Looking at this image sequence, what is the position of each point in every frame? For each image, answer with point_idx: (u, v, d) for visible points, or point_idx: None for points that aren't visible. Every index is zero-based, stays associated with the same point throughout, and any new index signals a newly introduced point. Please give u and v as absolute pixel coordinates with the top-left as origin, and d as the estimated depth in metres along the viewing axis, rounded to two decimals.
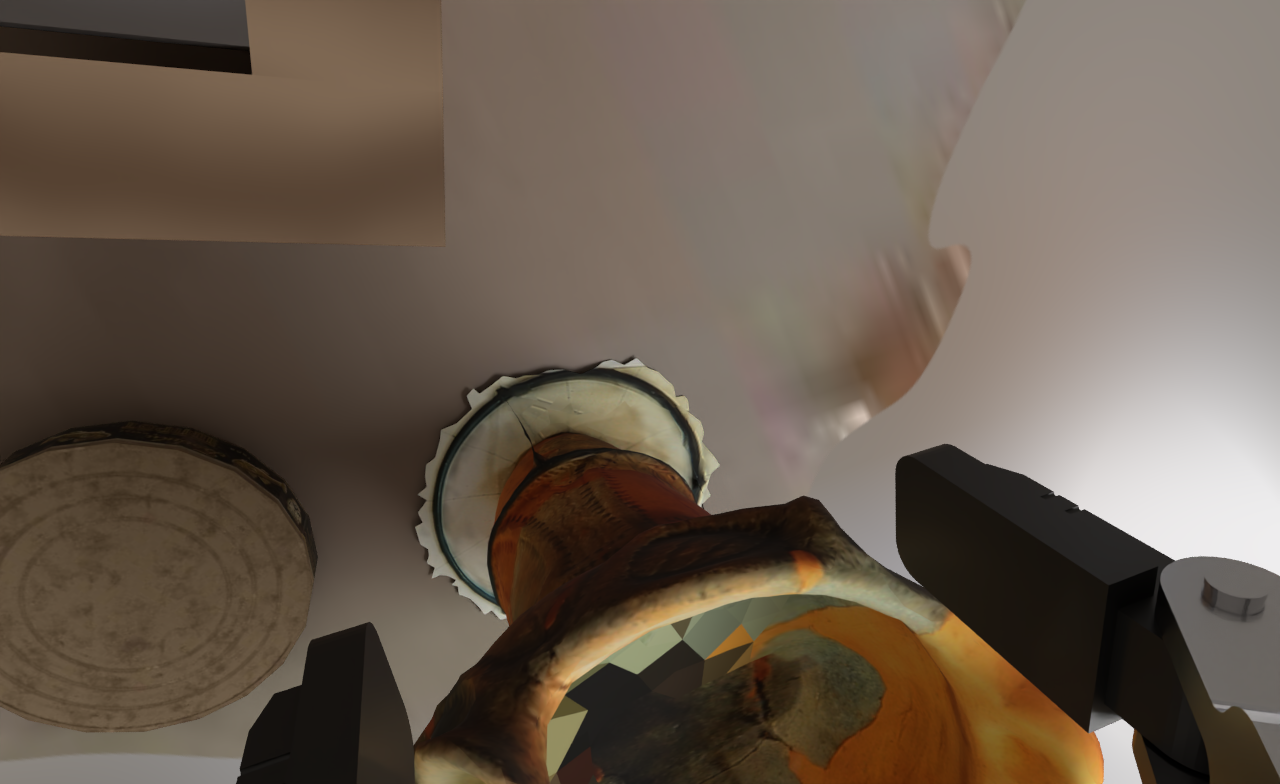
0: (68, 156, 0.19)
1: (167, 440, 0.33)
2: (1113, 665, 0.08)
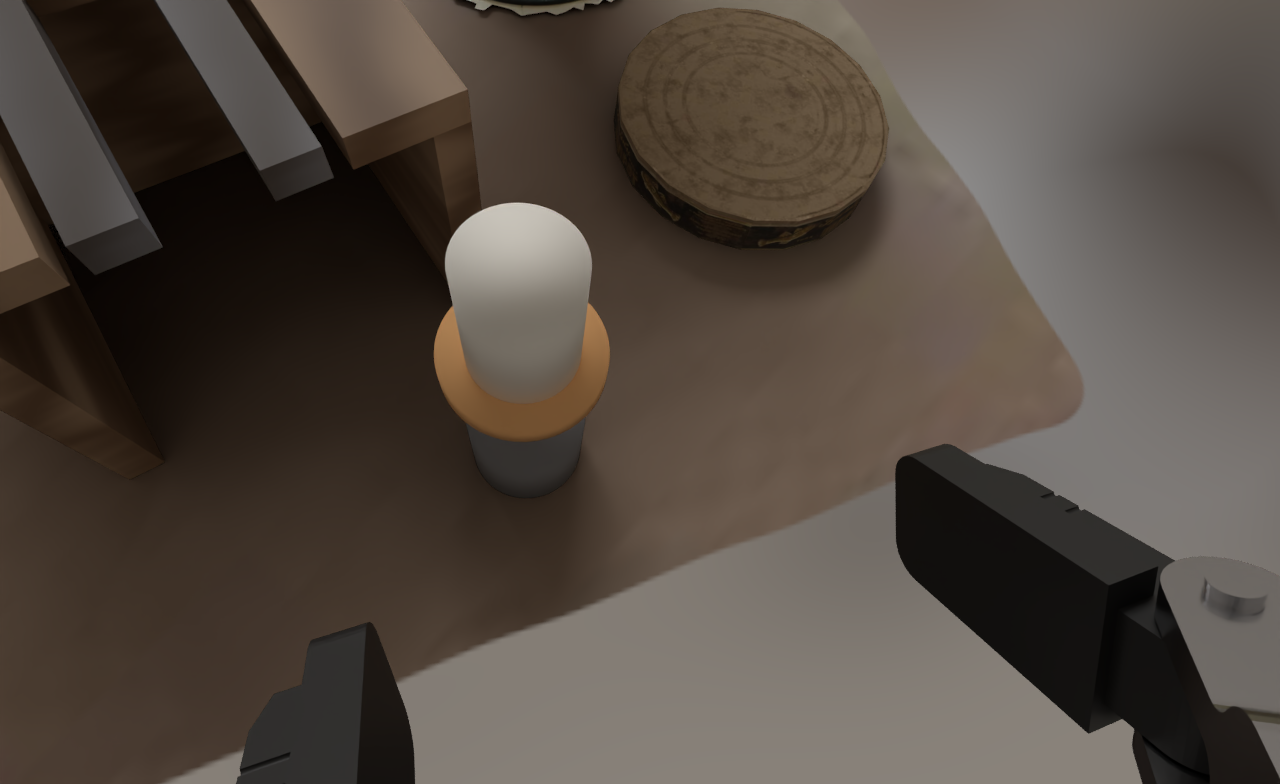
0: None
1: (624, 140, 0.40)
2: (1113, 665, 0.08)
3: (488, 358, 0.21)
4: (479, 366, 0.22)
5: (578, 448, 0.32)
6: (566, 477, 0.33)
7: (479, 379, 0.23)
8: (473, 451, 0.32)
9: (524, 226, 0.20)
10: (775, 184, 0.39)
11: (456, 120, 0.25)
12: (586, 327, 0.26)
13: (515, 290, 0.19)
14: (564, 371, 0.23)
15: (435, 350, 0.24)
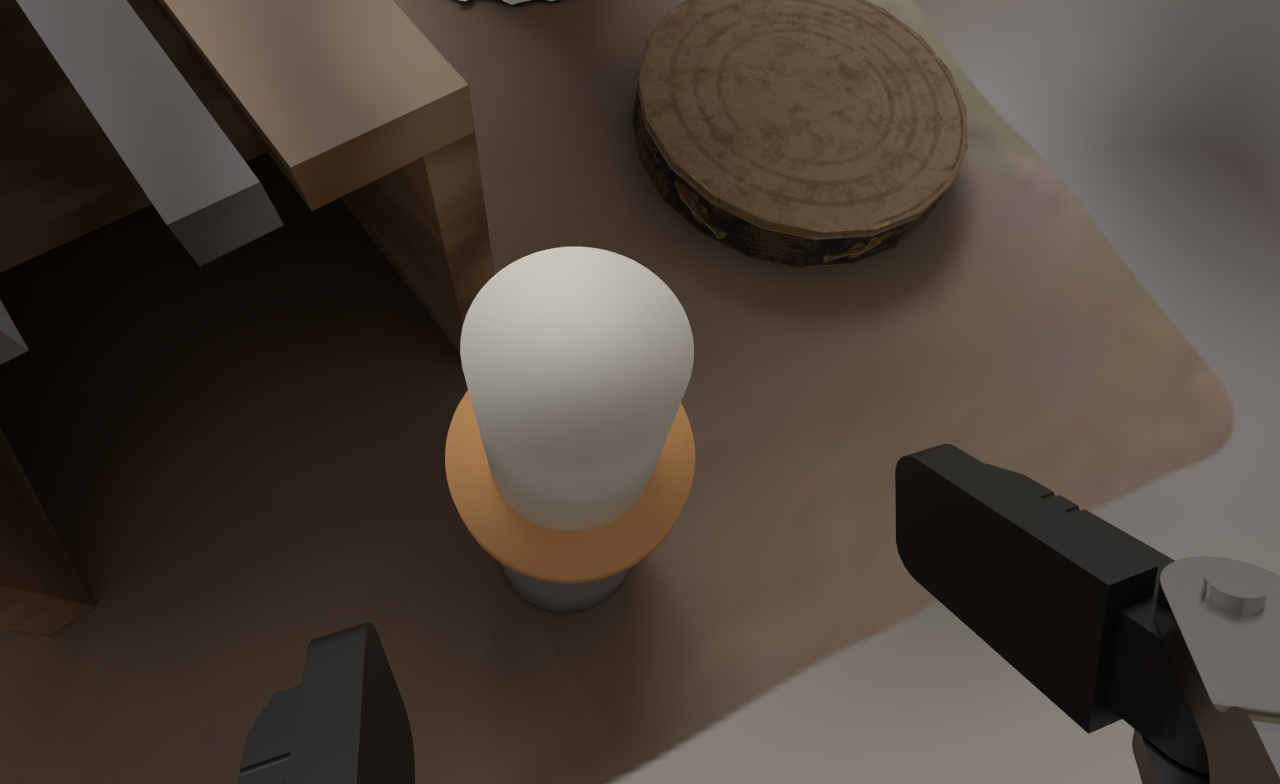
0: None
1: (650, 144, 0.33)
2: (1113, 665, 0.08)
3: (533, 488, 0.14)
4: (518, 493, 0.15)
5: None
6: (621, 582, 0.26)
7: (516, 505, 0.16)
8: None
9: (580, 284, 0.13)
10: (841, 186, 0.32)
11: (454, 131, 0.18)
12: None
13: (578, 392, 0.12)
14: (642, 485, 0.16)
15: (447, 461, 0.17)
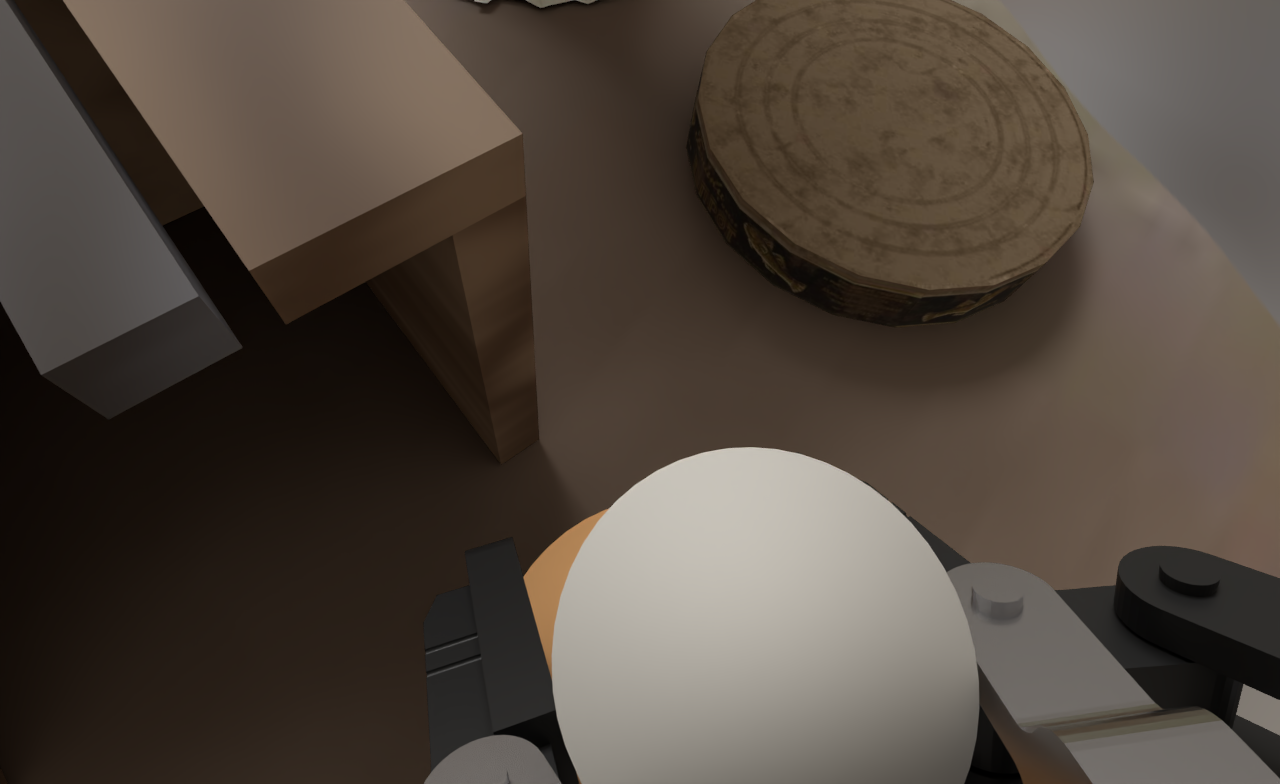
0: None
1: (713, 178, 0.27)
2: None
3: None
4: None
5: None
6: None
7: None
8: None
9: (759, 525, 0.07)
10: (948, 231, 0.26)
11: (497, 198, 0.12)
12: None
13: (779, 764, 0.06)
14: None
15: None
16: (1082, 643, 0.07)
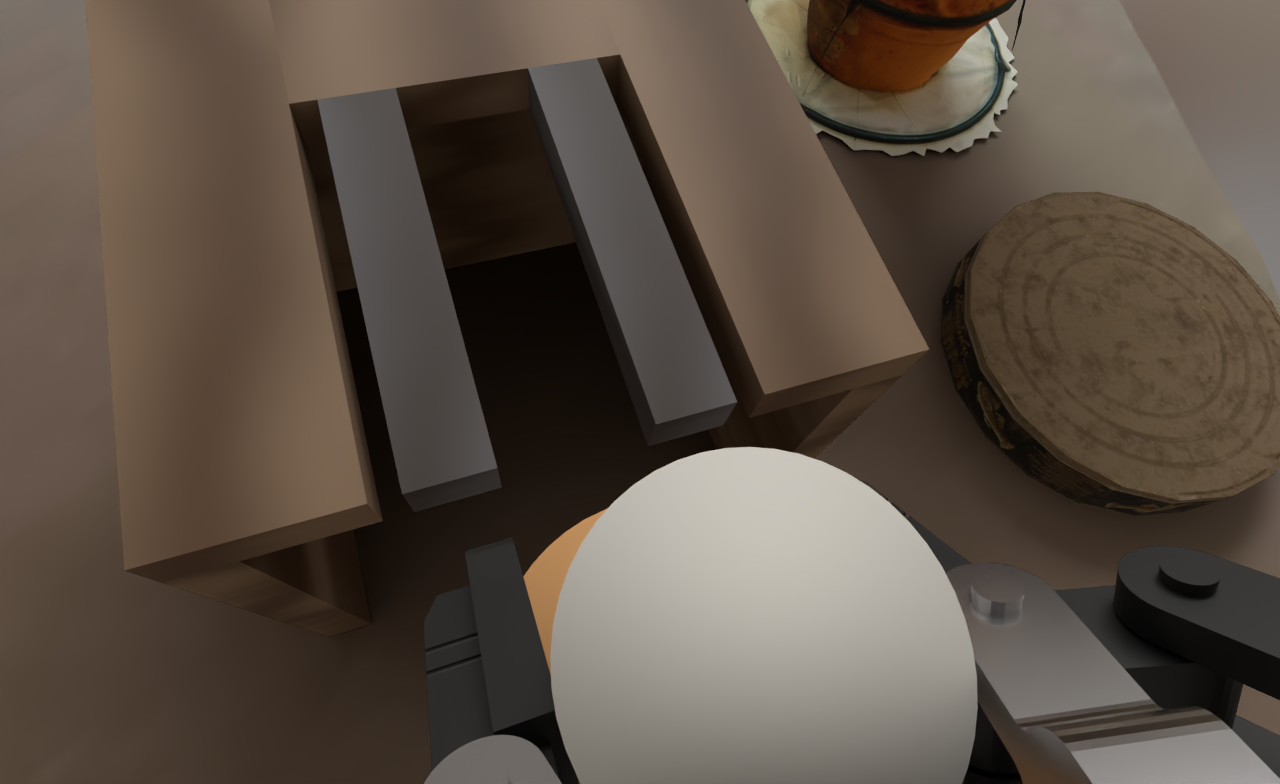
0: (754, 161, 0.20)
1: (963, 336, 0.33)
2: None
3: None
4: None
5: None
6: None
7: None
8: None
9: (757, 525, 0.07)
10: (1153, 442, 0.31)
11: (889, 374, 0.19)
12: None
13: (776, 762, 0.06)
14: None
15: None
16: (1082, 643, 0.07)
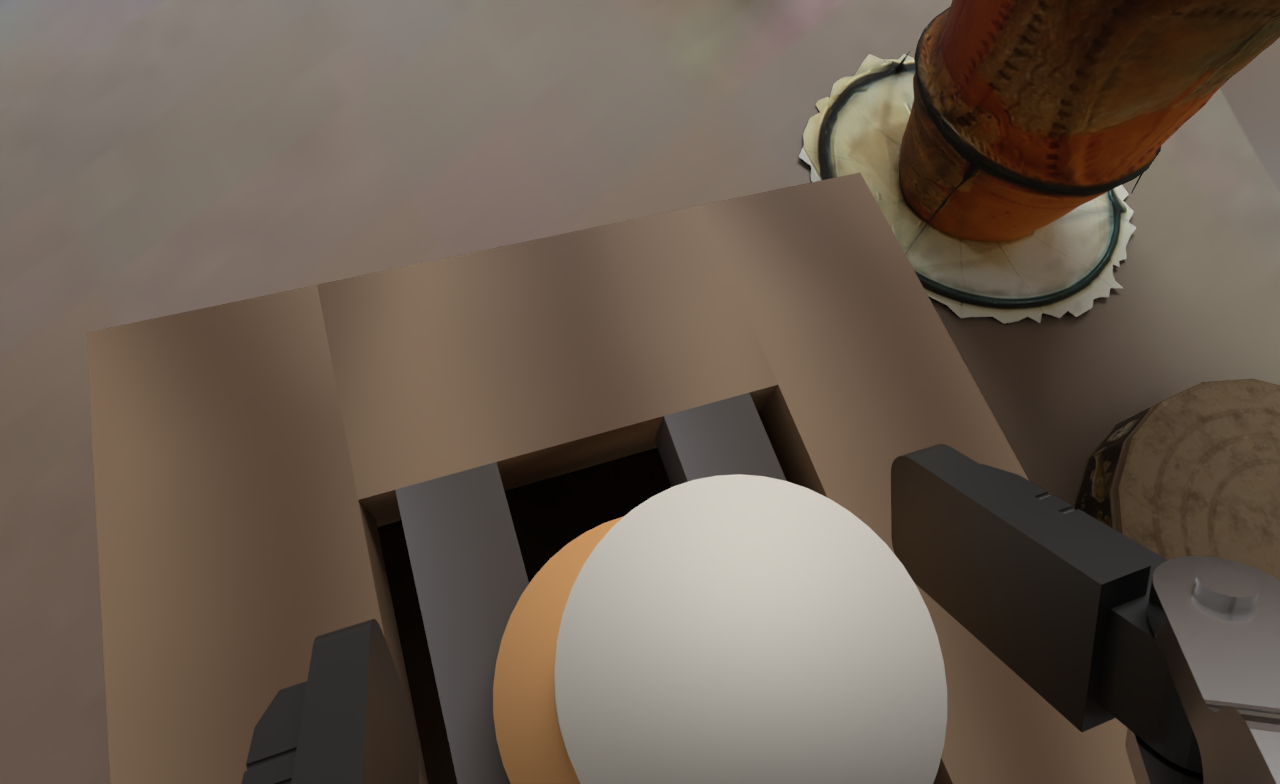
0: None
1: None
2: (1106, 664, 0.08)
3: None
4: None
5: None
6: None
7: None
8: None
9: (746, 548, 0.08)
10: None
11: None
12: None
13: (762, 768, 0.07)
14: None
15: (496, 709, 0.12)
16: None
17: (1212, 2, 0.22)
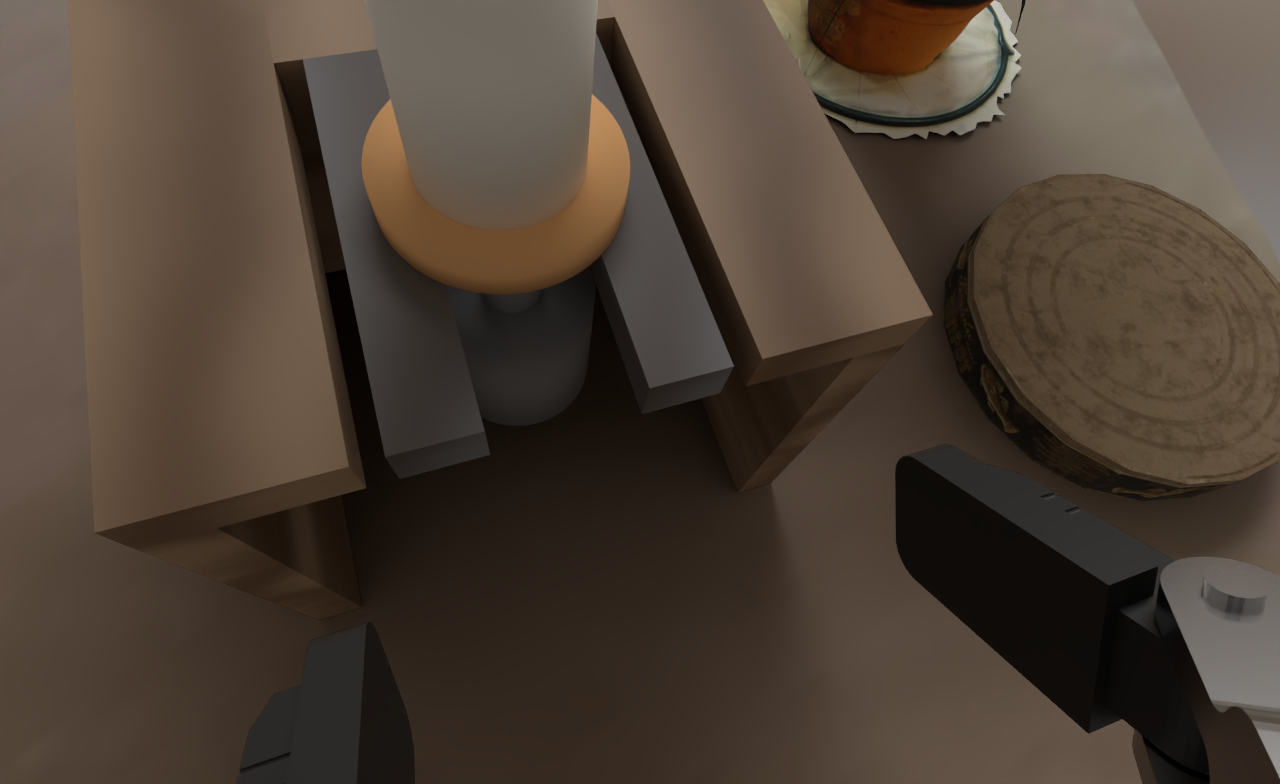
0: (752, 125, 0.19)
1: (966, 319, 0.32)
2: (1113, 665, 0.08)
3: (437, 120, 0.13)
4: (428, 151, 0.14)
5: (587, 347, 0.23)
6: (572, 394, 0.25)
7: (431, 188, 0.15)
8: None
9: None
10: (1161, 425, 0.30)
11: (891, 342, 0.18)
12: (591, 125, 0.17)
13: None
14: (565, 162, 0.15)
15: (364, 161, 0.16)
16: None
17: None
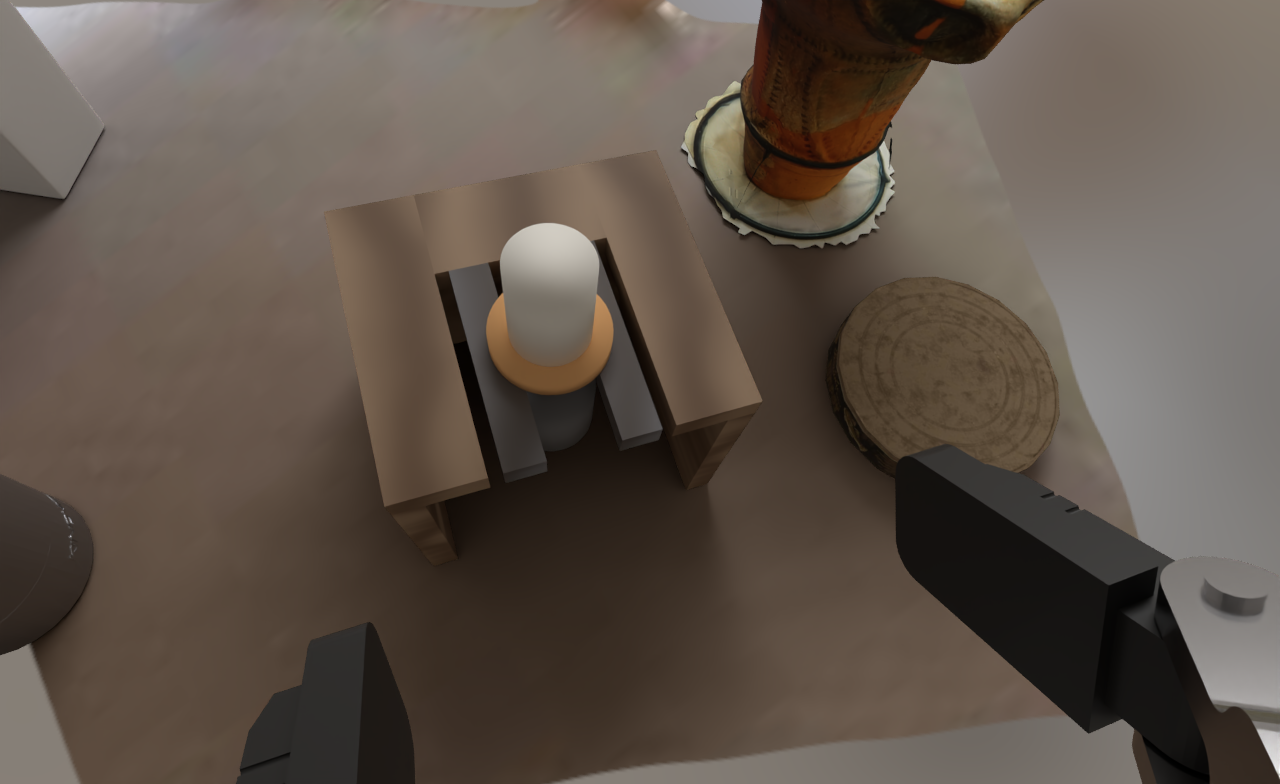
0: (677, 299, 0.37)
1: (836, 377, 0.50)
2: (1113, 665, 0.08)
3: (530, 333, 0.31)
4: (523, 340, 0.32)
5: (592, 407, 0.41)
6: (583, 432, 0.43)
7: (522, 350, 0.33)
8: None
9: (550, 239, 0.30)
10: None
11: (746, 413, 0.36)
12: (594, 309, 0.35)
13: (549, 282, 0.29)
14: (582, 339, 0.32)
15: (487, 333, 0.34)
16: None
17: (847, 67, 0.44)
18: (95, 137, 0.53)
